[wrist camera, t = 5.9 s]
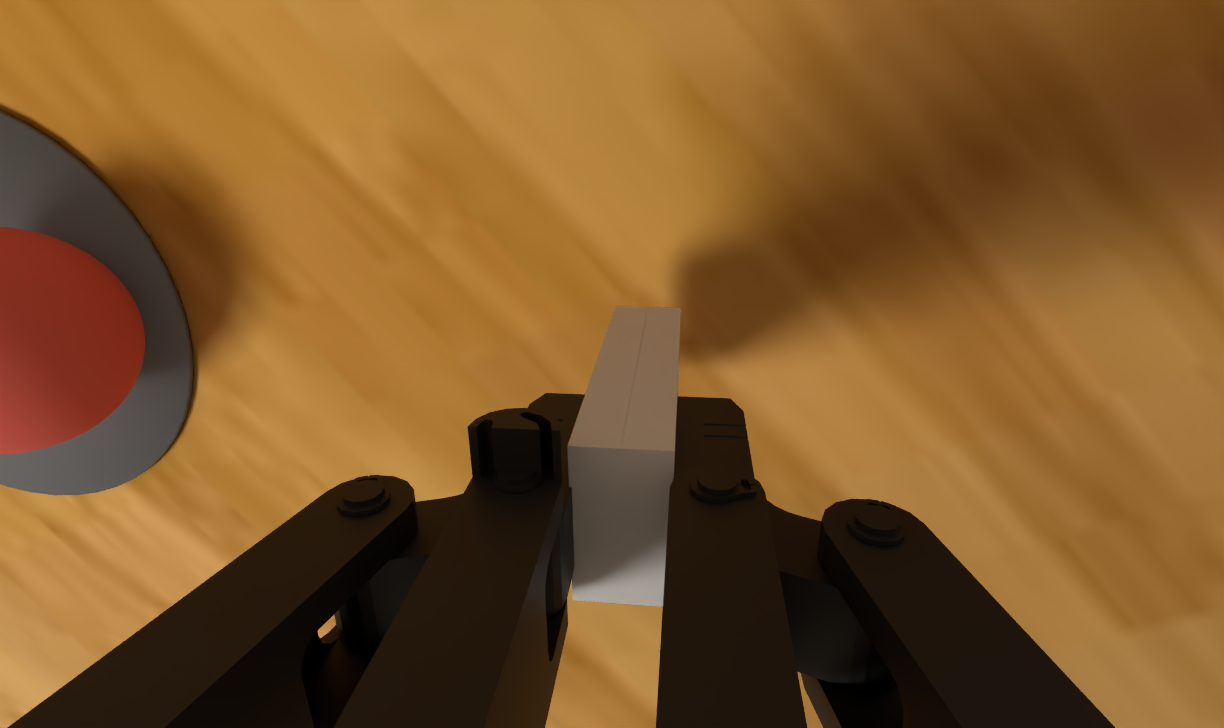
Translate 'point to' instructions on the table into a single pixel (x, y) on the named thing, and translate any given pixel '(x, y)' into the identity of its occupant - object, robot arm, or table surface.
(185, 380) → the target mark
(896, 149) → the table surface
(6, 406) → the ball
